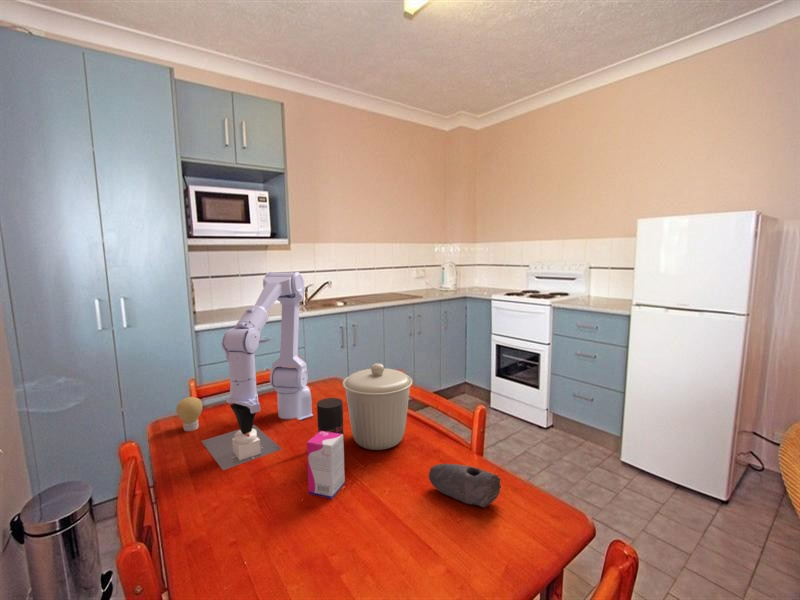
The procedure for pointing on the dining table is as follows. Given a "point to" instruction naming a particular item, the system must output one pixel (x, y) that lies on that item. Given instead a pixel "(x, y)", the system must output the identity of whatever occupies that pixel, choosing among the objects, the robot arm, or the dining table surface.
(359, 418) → the canister
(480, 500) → the perforated stone tool
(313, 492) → the supplement box
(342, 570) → the dining table surface
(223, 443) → the panel
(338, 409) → the deodorant
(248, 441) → the knob
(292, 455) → the dining table surface
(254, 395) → the robot arm
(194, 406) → the light bulb
